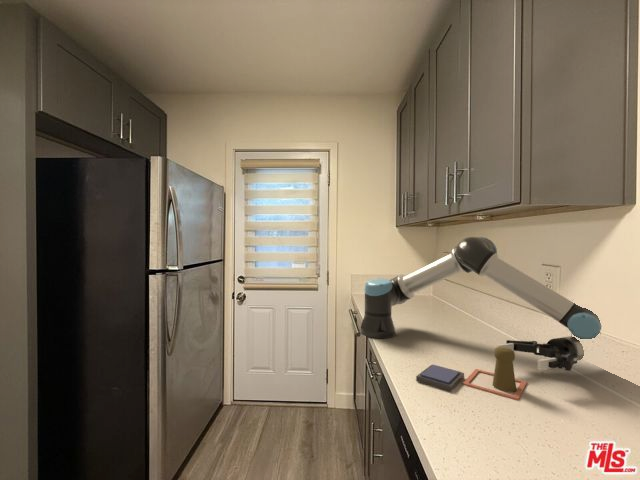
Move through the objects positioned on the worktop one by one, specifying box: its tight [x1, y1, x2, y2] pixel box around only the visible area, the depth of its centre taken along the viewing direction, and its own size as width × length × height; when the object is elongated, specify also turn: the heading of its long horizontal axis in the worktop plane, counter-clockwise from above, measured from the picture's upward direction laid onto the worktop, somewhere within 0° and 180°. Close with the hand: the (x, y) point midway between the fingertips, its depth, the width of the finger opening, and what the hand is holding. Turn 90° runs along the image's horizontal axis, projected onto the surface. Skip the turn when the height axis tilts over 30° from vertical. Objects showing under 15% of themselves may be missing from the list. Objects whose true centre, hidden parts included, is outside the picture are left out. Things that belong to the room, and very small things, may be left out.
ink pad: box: [415, 364, 465, 393], centre depth 99 cm, size 12×10×2 cm
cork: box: [492, 347, 517, 393], centre depth 95 cm, size 6×6×11 cm
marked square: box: [462, 368, 528, 401], centre depth 97 cm, size 14×14×1 cm
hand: (516, 356), depth 99 cm, fingers open, 13 cm apart
